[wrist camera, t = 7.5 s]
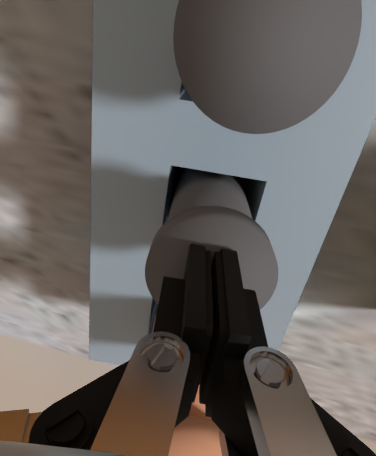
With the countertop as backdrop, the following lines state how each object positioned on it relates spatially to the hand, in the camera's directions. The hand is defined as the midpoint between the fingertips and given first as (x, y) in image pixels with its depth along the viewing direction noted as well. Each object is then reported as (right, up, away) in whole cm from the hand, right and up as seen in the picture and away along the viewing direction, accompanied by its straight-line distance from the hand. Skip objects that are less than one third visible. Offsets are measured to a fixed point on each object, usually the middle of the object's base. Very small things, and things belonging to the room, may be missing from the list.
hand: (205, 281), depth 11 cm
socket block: (+1, +5, +10) cm, 11 cm away
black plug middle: (+1, +4, +8) cm, 9 cm away
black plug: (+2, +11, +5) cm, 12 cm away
